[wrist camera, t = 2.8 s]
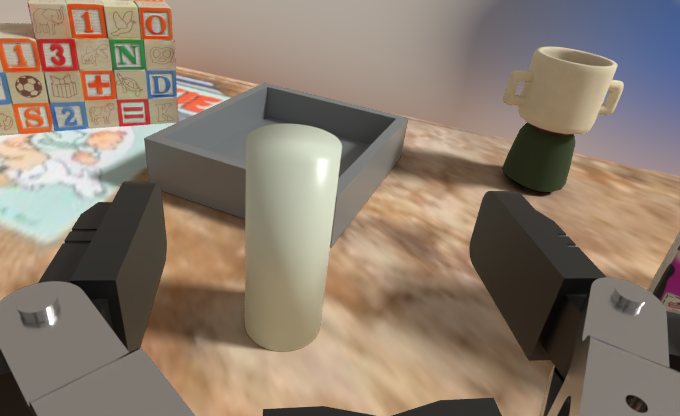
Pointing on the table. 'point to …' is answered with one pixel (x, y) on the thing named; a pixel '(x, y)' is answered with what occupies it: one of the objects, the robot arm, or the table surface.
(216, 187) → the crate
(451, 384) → the table surface
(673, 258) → the candy bar box
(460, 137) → the table surface
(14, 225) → the table surface
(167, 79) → the stack of blocks
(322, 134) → the canister
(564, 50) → the character mug
